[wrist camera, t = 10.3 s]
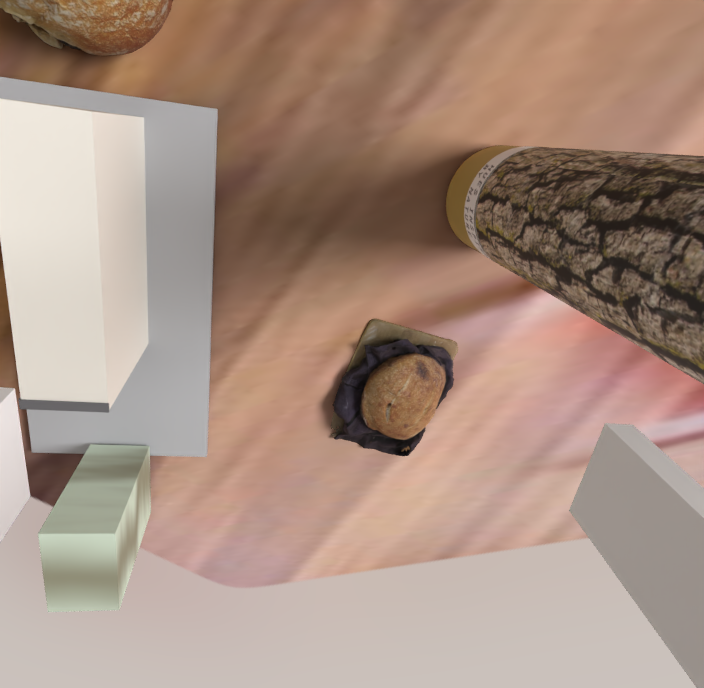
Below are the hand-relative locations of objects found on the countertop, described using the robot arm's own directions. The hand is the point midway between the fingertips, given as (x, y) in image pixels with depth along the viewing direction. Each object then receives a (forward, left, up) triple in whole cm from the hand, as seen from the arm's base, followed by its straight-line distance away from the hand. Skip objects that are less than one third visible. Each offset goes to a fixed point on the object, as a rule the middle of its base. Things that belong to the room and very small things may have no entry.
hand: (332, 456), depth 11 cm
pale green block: (+19, -11, -23) cm, 31 cm away
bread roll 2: (+10, +8, -24) cm, 28 cm away
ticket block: (+4, -11, -24) cm, 26 cm away
